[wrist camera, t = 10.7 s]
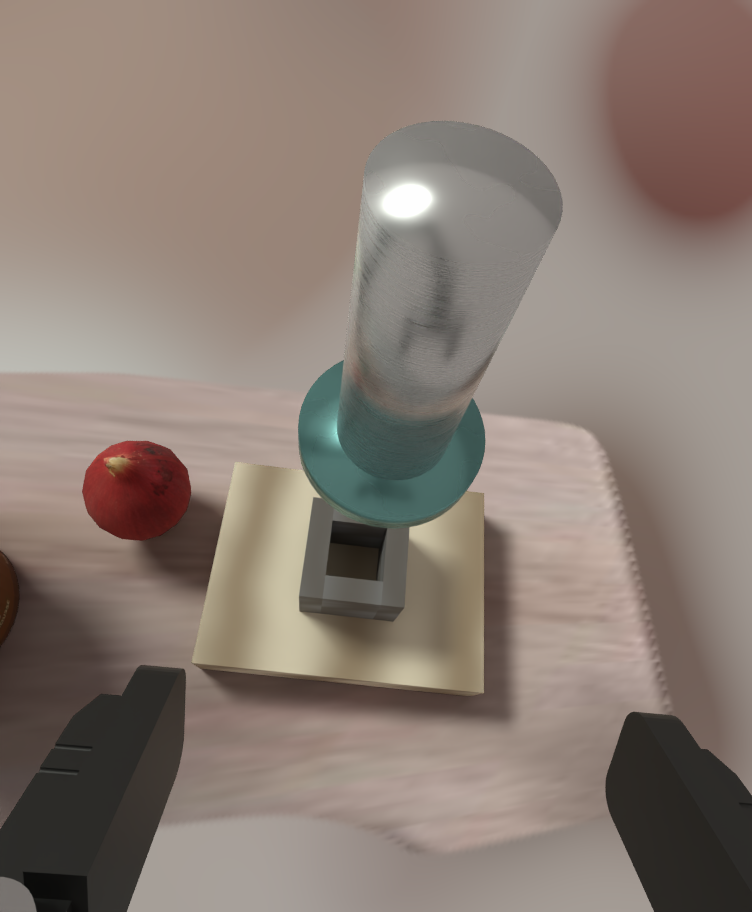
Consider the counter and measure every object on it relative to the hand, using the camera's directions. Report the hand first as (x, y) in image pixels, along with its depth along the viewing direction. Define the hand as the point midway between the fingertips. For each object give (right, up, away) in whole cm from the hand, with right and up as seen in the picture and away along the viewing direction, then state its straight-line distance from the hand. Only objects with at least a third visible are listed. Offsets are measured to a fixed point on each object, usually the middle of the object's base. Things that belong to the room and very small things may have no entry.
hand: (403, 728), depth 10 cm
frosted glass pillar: (-1, +3, +13) cm, 13 cm away
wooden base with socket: (-2, -3, +26) cm, 26 cm away
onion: (-15, +1, +27) cm, 31 cm away
